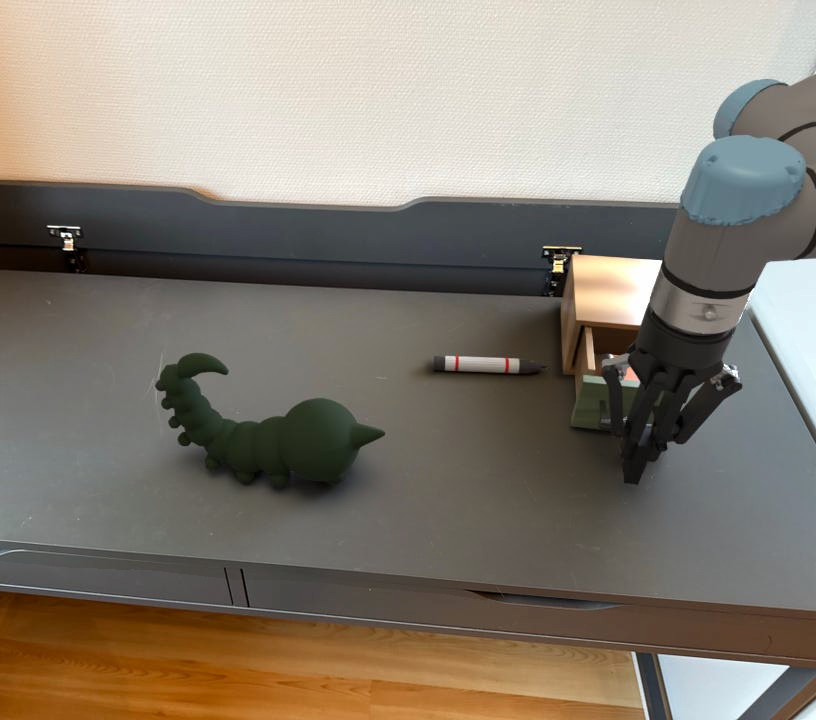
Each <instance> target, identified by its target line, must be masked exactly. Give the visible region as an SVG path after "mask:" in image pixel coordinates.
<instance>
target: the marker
mask: <svg viewBox="0 0 816 720" xmlns="http://www.w3.org/2000/svg"><path fill="white" fill-rule="evenodd" d="M548 367H549V365H543V364H542V362H539V361H532V360H531V359H528V358H511V357H510V358H509V357H487V356H485V357H483V356H460V355H459V356H455V355H434V356H433V370H434V371H446V372H447V371H451V372H472V373H473V372H474V373H475V372H477V373H499V374H530V373H532V372H541V370H547V369H548Z"/></svg>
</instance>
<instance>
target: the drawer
mask: <svg viewBox="0 0 816 720" xmlns="http://www.w3.org/2000/svg"><path fill="white" fill-rule="evenodd" d="M638 332H639V330H631V329H620V328H609V327H597V326H586V325H581V328H580V333H579V337H578V341H577V345H576V349H575V353H574V366H575V375H574V383H575V397H576V398H575V402H574V403H575V404H574V407H573V410H572V413H571V418H570V423H571V425H570V426H571V427H577V428H584V429H585V428H586V429H594V430H599V431H605V432H606V431H607V432H611V424H610V413H609V393H608V385H607V383H606V382H605V380H604V378H603V377H599V375H600V372H601V361H600V357H601V356H602V355H603V354H611V355H623V354H626V353H627V349H628V347H629V346H630V345H631V344H633V343H634V342H635V340H636V339H637V335H638ZM621 383H622V394H623V419H625V417H627V418H628V415H629V412H630V409H631V407H632V404H633V401H634V398H635V395H636V392H637V390H638V387H639V384H640V381H637V380H627V379H624V380H622V381H621ZM663 394H664V391H661V393H660V396H659V398H658V401H655V403H654V406H653V409H652V411H651V414H650V416H649V419H648V422H647V424H646V427H645V428H650V429H651V430H652V423H653V420H654V417H655V415H656V412H657V410H658V407H659V404H660V402H661V399H662V397H663Z"/></svg>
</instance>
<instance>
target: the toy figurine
mask: <svg viewBox="0 0 816 720" xmlns="http://www.w3.org/2000/svg"><path fill="white" fill-rule="evenodd" d="M205 373H216V374H220V375H222V376H228V375H229V373H230V371H229V368H228V367H227V366H226V365H225V364H224V363H223V362H222V361H221V360H220V359H218V358H217V357H215V356H213V355H211V354H207V353H205V352H192V353H187V354H185V355H183V356H181V357H180V358H179V360H178V361H177V363H171V364H166V365H165V366H164V368H163V369H162V371H161V372H160V375H159V379H157V380H156V382H155V384H154V386H155V389H156V391H157V392H165V396H164V397H163V398H162V399H161V401H160V405H161V407H162V409H164V410H166V411H168V410H171V409H173V410H174V411H173V412H174V413H173V414H174V415H171V417H170V418H169V419H168V421H167V423H168V426H169V427H170V428H171V429H178V428H179V427H182V428H184V431H182V432H181V433H179V435H178V436H177V443H178V445H180V446H181V447H189V446H190V445H191V444H194V445H196V446H198V447H203V448H204V450H205V452H206V453H207V454H206V456H205V458H204V467H205V468H206V469H207V470H209V471H216V470H219V469H220V468H221V466H222V462H223V463H228V465H229V466H230V467H231V468H233V469H234V470H236V477H237V480H238V481H239V482H241V483H243V484H249V483H250V482H251V481H252V480H253V479H254V477H255V473H257V472H259V471H261V470H262V471H264V472H265V473H268V480H269V482H270V485H272V486H274V487H277V488H282V487H286V486H287V485H288V484H289V483H290V480H291V472H292V473H293V474H295V475H297V476H298V477H300V478H301V479H305V480H309V481H314V482H325V483H327V484H328V485H335V486H336V485H339V484H341V483H342V482H343V481H344V480H345V478H346V475H347V471H348V470H349V469H350V468H351V467H352V465H353V464H354V463H355V462H356V459H357V458H358V455H359V453H360V450H361V448H362V447H364V446H366V445H370V444H371V443H373V442H375V441H377V440H379V439H381V438H383V437H384V436H386V431H385V430H383V429H380V428H377V427H372V426H370V425H366V424H362V423H359V422H358V421H357V419H356V417H355V416H354V415H353V413H352V412H351V411H350V410H349V409H348V408H347V407H346V406H344V405H343V404H341V403H340V402H337V401H336V400H333V399H329V398H326V397H325V398H324V397H316V398H310V399H305V400H303V401H301V402H299V403H297V404H296V405H294V406H292V407H291V408H290V409H289V410H288V412H287V413H286V414H285V415H284V416H282V415H275V416H270V417H268V418H265V419H263V420H262V421H260V422H257V421H253V420H244V421H240V422H237V421H235V420H234V419H230V418H223V416H222V414H221V413H220V411H218V410H216V409H215V408H212V405H211V402H210V400H209V399H208V398H207V397H206V396H205V395H204V394H202V391H201V387H200V385H199V384H198V382H197V381H196V380H194V379H193V378H194V377H196V376H198V375H200V374H205Z"/></svg>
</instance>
